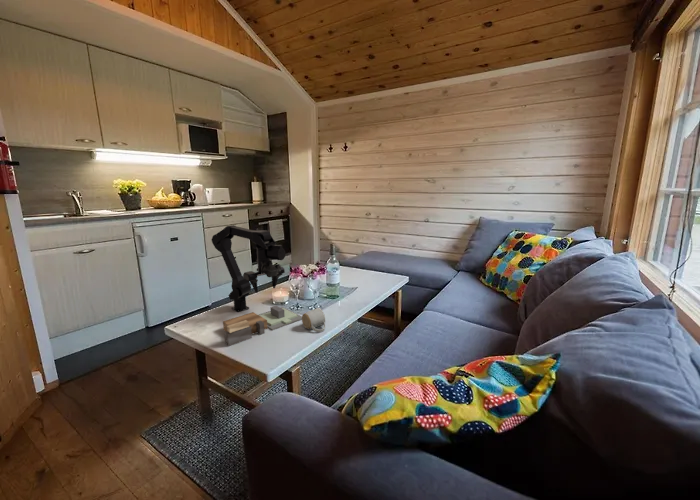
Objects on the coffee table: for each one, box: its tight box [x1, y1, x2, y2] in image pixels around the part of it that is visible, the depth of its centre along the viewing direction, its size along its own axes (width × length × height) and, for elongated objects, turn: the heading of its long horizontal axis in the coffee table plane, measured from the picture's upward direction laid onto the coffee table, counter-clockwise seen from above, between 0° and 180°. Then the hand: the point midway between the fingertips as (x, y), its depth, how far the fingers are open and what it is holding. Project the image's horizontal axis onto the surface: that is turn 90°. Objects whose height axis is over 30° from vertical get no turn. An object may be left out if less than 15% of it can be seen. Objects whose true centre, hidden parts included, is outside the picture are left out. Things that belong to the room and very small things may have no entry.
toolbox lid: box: [258, 305, 299, 326], centre depth 146 cm, size 15×14×4 cm
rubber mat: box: [258, 306, 302, 331], centre depth 148 cm, size 18×17×1 cm
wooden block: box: [227, 320, 249, 333], centre depth 126 cm, size 2×8×2 cm, turn 135°
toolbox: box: [222, 311, 268, 347], centre depth 134 cm, size 15×18×5 cm
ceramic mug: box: [301, 307, 326, 333], centre depth 138 cm, size 11×8×8 cm
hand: (265, 290), depth 150 cm, fingers open, 9 cm apart
